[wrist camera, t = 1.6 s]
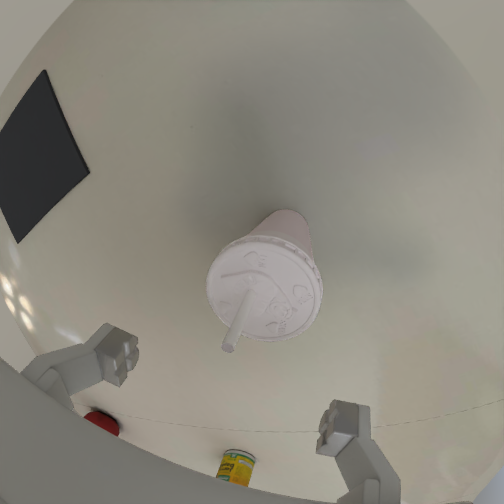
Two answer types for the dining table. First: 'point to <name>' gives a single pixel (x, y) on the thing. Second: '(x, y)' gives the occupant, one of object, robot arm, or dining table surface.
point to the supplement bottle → (236, 467)
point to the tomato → (103, 422)
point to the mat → (36, 158)
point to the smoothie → (266, 282)
